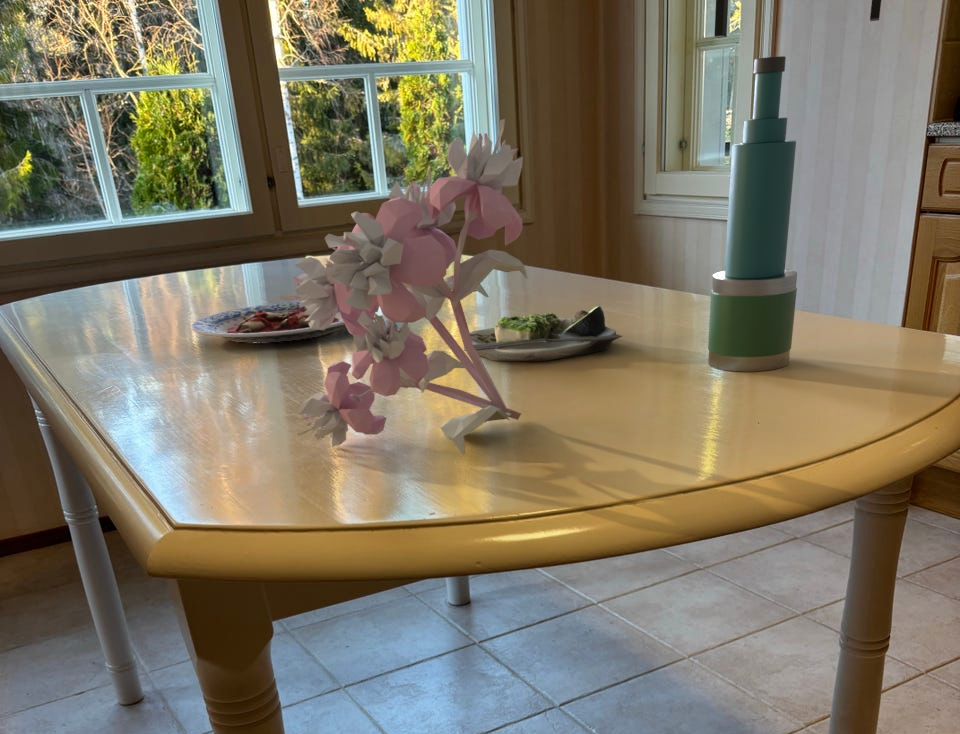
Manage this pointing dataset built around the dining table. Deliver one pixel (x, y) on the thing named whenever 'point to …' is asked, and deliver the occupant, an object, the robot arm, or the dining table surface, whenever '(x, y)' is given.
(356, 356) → the flower
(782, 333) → the tin
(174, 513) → the dining table surface
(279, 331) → the ceramic plate
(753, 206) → the bottle
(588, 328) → the salad plate
